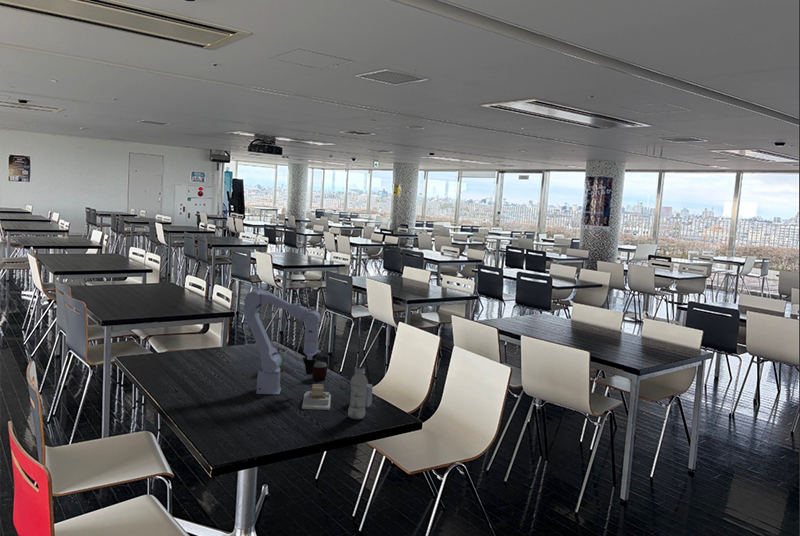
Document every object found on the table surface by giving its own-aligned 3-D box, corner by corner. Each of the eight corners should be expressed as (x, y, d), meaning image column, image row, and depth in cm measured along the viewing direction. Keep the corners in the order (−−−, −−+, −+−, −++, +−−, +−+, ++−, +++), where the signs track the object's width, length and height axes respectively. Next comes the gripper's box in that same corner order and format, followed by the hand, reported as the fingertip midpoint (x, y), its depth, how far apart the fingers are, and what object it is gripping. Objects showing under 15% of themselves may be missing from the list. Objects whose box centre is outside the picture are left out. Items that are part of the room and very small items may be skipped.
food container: (279, 376, 273) (280, 355, 272) (266, 374, 274) (267, 353, 273) (289, 368, 285) (290, 348, 284) (277, 367, 286) (278, 346, 285)
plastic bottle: (347, 414, 232) (350, 365, 230) (364, 415, 233) (368, 366, 231) (347, 421, 226) (350, 370, 224) (365, 421, 227) (368, 371, 224)
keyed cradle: (301, 408, 235) (302, 401, 235) (304, 395, 250) (305, 388, 249) (329, 409, 236) (330, 402, 236) (330, 396, 251) (331, 390, 250)
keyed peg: (326, 402, 241) (327, 388, 240) (311, 402, 240) (312, 387, 240) (326, 398, 245) (327, 384, 245) (311, 398, 245) (312, 384, 244)
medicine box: (371, 404, 245) (373, 384, 244) (367, 408, 241) (369, 387, 240) (354, 401, 248) (355, 381, 247) (349, 404, 244) (351, 384, 243)
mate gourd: (328, 377, 276) (329, 346, 274) (324, 382, 268) (326, 350, 266) (312, 376, 277) (314, 344, 275) (308, 381, 269) (309, 349, 267)
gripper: (320, 345, 241) (318, 377, 242) (321, 336, 255) (320, 366, 257) (302, 344, 240) (300, 376, 242) (305, 335, 254) (303, 366, 256)
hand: (309, 371), depth 249 cm, fingers open, 7 cm apart
